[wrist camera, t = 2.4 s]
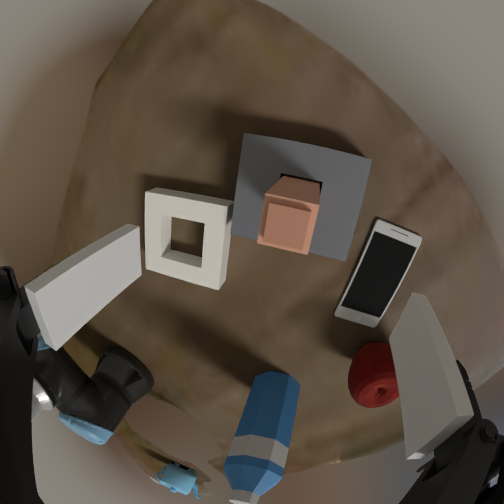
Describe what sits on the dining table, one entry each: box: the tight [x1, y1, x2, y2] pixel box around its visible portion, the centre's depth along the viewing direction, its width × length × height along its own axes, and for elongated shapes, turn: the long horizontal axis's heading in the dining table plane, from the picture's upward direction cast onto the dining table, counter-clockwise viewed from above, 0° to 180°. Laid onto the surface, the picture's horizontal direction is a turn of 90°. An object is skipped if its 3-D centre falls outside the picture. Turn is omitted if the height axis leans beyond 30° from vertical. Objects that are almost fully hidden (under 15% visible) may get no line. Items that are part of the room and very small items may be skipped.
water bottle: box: [224, 371, 300, 504], centre depth 36 cm, size 9×9×25 cm
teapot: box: [156, 462, 200, 499], centre depth 80 cm, size 22×11×14 cm, turn 71°
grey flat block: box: [230, 133, 372, 261], centre depth 31 cm, size 14×12×4 cm
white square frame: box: [145, 187, 234, 290], centre depth 37 cm, size 12×12×3 cm
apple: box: [348, 342, 400, 408], centre depth 35 cm, size 10×10×10 cm
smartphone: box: [335, 219, 422, 328], centre depth 34 cm, size 7×15×1 cm, turn 166°
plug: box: [257, 174, 320, 255], centre depth 26 cm, size 4×4×15 cm
